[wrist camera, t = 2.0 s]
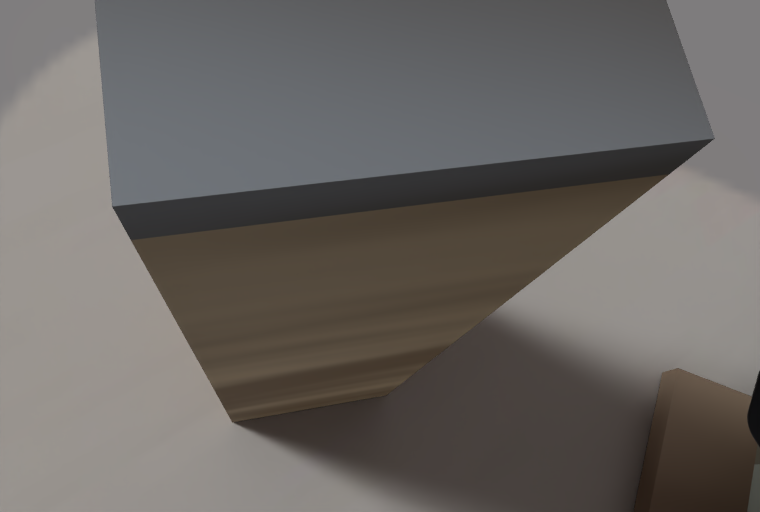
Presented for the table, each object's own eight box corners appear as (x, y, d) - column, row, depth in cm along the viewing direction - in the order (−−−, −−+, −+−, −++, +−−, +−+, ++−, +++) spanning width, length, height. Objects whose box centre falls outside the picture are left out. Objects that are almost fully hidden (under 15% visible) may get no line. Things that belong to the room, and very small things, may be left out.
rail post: (386, 395, 19) (713, 139, 5) (232, 422, 18) (112, 206, 4) (359, 252, 20) (566, -283, 6) (213, 271, 19) (70, -293, 5)
